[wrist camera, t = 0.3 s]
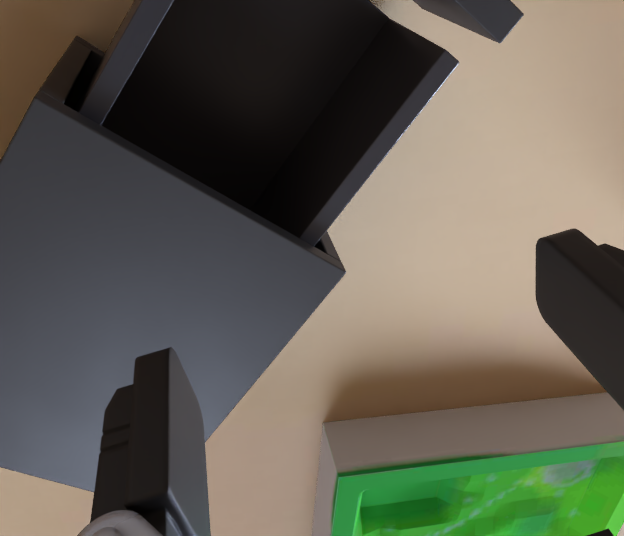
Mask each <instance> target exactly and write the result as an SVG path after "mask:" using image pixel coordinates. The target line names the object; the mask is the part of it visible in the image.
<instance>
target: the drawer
mask: <svg viewBox="0 0 624 536" xmlns="http://www.w3.org/2000/svg"><path fill="white" fill-rule="evenodd" d="M413 1H414V2H415V3H417V4H418V5H419V6H420V7H421V8H422V9H424V10H426V11H428V12H431V13H433V14H435V15H437V16H440V17H442V18H444V19H446V20H449V21H451V22H453V23H455V24H458V25H460V26H462V27H464V28H467V29H469V30H471V31H473V32H475V33H478V34H480V35H482V36H484V37H487V38H489V39H491V40H493V41H496V42H498V43H501V42H502V41H503V40H504V39H505V37H506V36H507V35H508V34H509V32H510V31H511V30H512V29H513V27H514V26H515V25H516V24H517V22H518V21H519V20H520V19H521V18H522V16H523V15H524V14H523V13H522V12H521V11H520V10H519V9H518V8H517V7H516V6H515V5H514V4H513V3H512V2H511V1H510V0H413ZM458 64H459V61H458V60H457V59H456V58H454V57H453V56H452V55H451V54H450V53H449V52H448V51H447V50H445V49H443V48H442V47H440V46H438V45H436V44H434V43H433V42H431V41H429V40H427V39H425V38H424V37H422V36H420V35H418V34H416V33H415V32H413V31H411V30H409V29H407V28H406V27H404V26H402V25H400V24H399V23H397V22H395V21H393V20H391V19H390V18H388V17H387V16H386V15H385V14H384V13H383V12H381V11H380V10H379V9H378V8H377V7H376V6H374V5H373V4H372V3H371V2H370V1H369V0H134V2H133V4H132V6H131V8H130V9H129V11H128V13H127V15H126V17H125V18H124V20H123V22H122V24H121V25H120V27H119V29H118V31H117V33H116V34H115V36H114V38H113V40H112V42H111V43H110V45H109V47H108V49H107V51H106V52H105V54H104V56H103V58H102V59H101V61H100V63H99V65H98V67H97V68H96V70H95V72H94V74H93V76H92V77H91V79H90V81H89V83H88V85H87V86H86V88H85V90H84V92H83V93H82V95H81V97H80V99H79V101H78V102H77V104H76V106H75V108H74V110H75V111H76V112H78V113H80V114H82V115H83V116H85V117H87V118H89V119H91V120H92V121H94V122H96V123H98V124H99V125H101V126H103V127H105V128H106V129H108V130H110V131H112V132H113V133H115V134H117V135H119V136H120V137H122V138H124V139H126V140H127V141H129V142H131V143H133V144H134V145H136V146H138V147H140V148H141V149H143V150H145V151H147V152H149V153H150V154H152V155H154V156H156V157H157V158H159V159H161V160H163V161H164V162H166V163H168V164H170V165H171V166H173V167H175V168H177V169H178V170H180V171H182V172H184V173H185V174H187V175H189V176H191V177H192V178H194V179H196V180H198V181H199V182H201V183H203V184H205V185H206V186H208V187H210V188H212V189H214V190H215V191H217V192H219V193H221V194H222V195H224V196H226V197H228V198H229V199H231V200H233V201H235V202H236V203H238V204H240V205H242V206H243V207H245V208H247V209H249V210H250V211H252V212H254V213H256V214H257V215H259V216H261V217H263V218H264V219H266V220H268V221H270V222H272V223H273V224H275V225H277V226H279V227H280V228H282V229H284V230H286V231H287V232H289V233H291V234H293V235H294V236H296V237H298V238H300V239H301V240H303V241H305V242H307V243H308V244H310V245H312V246H315V245H316V243H317V242H318V241H319V240H320V238H321V237H322V236H323V234H324V233H325V232H326V231H327V229H328V228H329V227H330V226H331V224H332V223H333V222H334V221H335V219H336V218H337V217H338V216H339V214H340V213H341V212H342V210H343V209H344V208H345V207H346V205H347V204H348V203H349V202H350V200H351V199H352V198H353V197H354V195H355V194H356V193H357V191H358V190H359V189H360V188H361V186H362V185H363V184H364V183H365V181H366V180H367V179H368V178H369V176H370V175H371V174H372V173H373V171H374V170H375V169H376V167H377V166H378V165H379V164H380V162H381V161H382V160H383V159H384V157H385V156H386V155H387V154H388V152H389V151H390V150H391V149H392V147H393V146H394V145H395V143H396V142H397V141H398V140H399V138H400V137H401V136H402V135H403V133H404V132H405V131H406V130H407V128H408V127H409V126H410V125H411V123H412V122H413V121H414V119H415V118H416V117H417V116H418V114H419V113H420V112H421V111H422V109H423V108H424V107H425V106H426V104H427V103H428V102H429V101H430V99H431V98H432V97H433V95H434V94H435V93H436V92H437V90H438V89H439V88H440V87H441V85H442V84H443V83H444V82H445V80H446V79H447V78H448V77H449V75H450V74H451V73H452V71H453V70H454V69H455V68H456V66H457V65H458Z"/></svg>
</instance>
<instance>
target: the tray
mask: <svg viewBox="0 0 624 536" xmlns="http://www.w3.org/2000/svg"><path fill="white" fill-rule="evenodd" d="M623 523H624V410H623V409H622V408H621V407H620V406H619V405H618V404H617V402H616V401H615V400H614V399H613V398H612V397H611V396H610V395H609V393H608V392H606V393H597V394H587V395H578V396H569V397H559V398H550V399H540V400H531V401H522V402H512V403H503V404H493V405H484V406H475V407H465V408H456V409H446V410H437V411H428V412H418V413H409V414H399V415H390V416H381V417H371V418H362V419H352V420H343V421H334V422H324V423H323V427H322V437H321V447H320V456H319V466H318V476H317V486H316V496H315V506H314V516H313V525H312V535H311V536H587V535H590V534H593V533H596V532H599V531H602V530H605V529H608V528H609V530H610V531H611V533H612V534H613V535H614V536H617V534H618V532H619V530H620V528H621V526H622V525H623Z"/></svg>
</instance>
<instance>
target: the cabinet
mask: <svg viewBox="0 0 624 536" xmlns="http://www.w3.org/2000/svg"><path fill="white" fill-rule="evenodd" d="M104 54H105V53H104V52H102V51H100V50H99V49H97V48H96V47H94V46H93V45H91V44H89V43H88V42H86V41H85V40H83V39H81V38H80V37H78V36H76V37H75V38H74V40H73V41H72V43H71V44H70V46H69V47H68V49H67V50H66V52H65V53H64V54H63V56H62V57H61V59H60V60H59V62H58V63H57V65H56V66H55V68H54V69H53V71H52V72H51V73H50V75H49V76H48V78H47V79H46V81H45V82H44V84H43V85H42V87H41V88H40V90H39V91H38V92H37V94H36V95H35V97H34V98H33V100H32V102H31V104H30V106H29V108H28V110H27V112H26V114H25V115H24V117H23V119H22V121H21V123H20V125H19V127H18V129H17V131H16V132H15V134H14V136H13V138H12V140H11V142H10V144H9V146H8V148H7V150H6V151H5V153H4V155H3V157H2V159H1V161H0V467H2V468H5V469H9V470H13V471H17V472H20V473H24V474H28V475H32V476H35V477H39V478H43V479H47V480H50V481H54V482H58V483H62V484H65V485H69V486H73V487H77V488H80V489H84V490H88V491H91V492H94V491H95V483H96V475H97V467H98V460H99V453H101V451H100V444H101V436H102V435H103V432H102V429H103V421H104V413H105V409H106V407H107V406H108V404H109V402H110V400H111V399H112V397H113V395H114V393H115V392H116V390H117V389H118V388H121V387H125V386H128V385H131V384H133V379H134V366H135V359H136V358H137V357H139V356H143V355H146V354H149V353H153V352H156V351H159V350H163V349H166V348H169V347H172V348H173V349H174V350H175V352H176V354H177V356H178V358H179V360H180V362H181V364H182V367H183V369H184V371H185V373H186V375H187V377H188V380H189V382H190V384H191V386H192V388H193V390H194V393H195V395H196V397H197V400H198V402H199V405H200V409H201V413H202V418H203V424H204V438H205V442H206V441H207V439H208V438H209V437H210V436H211V435H212V433H213V432H214V431H215V430H216V429H217V427H218V426H219V425H220V424H221V423H222V421H223V420H224V419H225V418H226V417H227V415H228V414H229V413H230V412H231V411H232V409H233V408H234V407H235V406H236V405H237V403H238V402H239V401H240V400H241V398H242V397H243V396H244V395H245V394H246V392H247V391H248V390H249V389H250V388H251V386H252V385H253V384H254V383H255V382H256V380H257V379H258V378H259V377H260V376H261V374H262V373H263V372H264V371H265V370H266V368H267V367H268V366H269V365H270V364H271V362H272V361H273V360H274V359H275V358H276V356H277V355H278V354H279V353H280V352H281V350H282V349H283V348H284V347H285V346H286V344H287V343H288V342H289V341H290V340H291V338H292V337H293V336H294V335H295V334H296V332H297V331H298V330H299V329H300V327H301V326H302V325H303V324H304V323H305V321H306V320H307V319H308V318H309V317H310V315H311V314H312V313H313V312H314V311H315V309H316V308H317V307H318V306H319V305H320V303H321V302H322V301H323V300H324V299H325V297H326V296H327V295H328V294H329V293H330V291H331V290H332V289H333V288H334V287H335V285H336V284H337V283H338V282H339V281H340V279H341V278H342V277H343V276H344V275H345V273H346V271H345V268H344V266H343V264H342V262H341V260H340V258H339V256H338V254H337V252H336V250H335V247H334V245H333V243H332V241H331V239H330V237H329V235H328V232H327V231H326V232H325V233H324V234H323V236H322V237H321V238H320V240H319V241H318V242H317V243H316V245H315V246H312V245H310V244H308V243H307V242H305V241H303V240H301V239H300V238H298V237H296V236H294V235H293V234H291V233H289V232H287V231H286V230H284V229H282V228H280V227H279V226H277V225H275V224H273V223H272V222H270V221H268V220H266V219H264V218H263V217H261V216H259V215H257V214H256V213H254V212H252V211H250V210H249V209H247V208H245V207H243V206H242V205H240V204H238V203H236V202H235V201H233V200H231V199H229V198H228V197H226V196H224V195H222V194H221V193H219V192H217V191H215V190H214V189H212V188H210V187H208V186H206V185H205V184H203V183H201V182H199V181H198V180H196V179H194V178H192V177H191V176H189V175H187V174H185V173H184V172H182V171H180V170H178V169H177V168H175V167H173V166H171V165H170V164H168V163H166V162H164V161H163V160H161V159H159V158H157V157H156V156H154V155H152V154H150V153H149V152H147V151H145V150H143V149H141V148H140V147H138V146H136V145H134V144H133V143H131V142H129V141H127V140H126V139H124V138H122V137H120V136H119V135H117V134H115V133H113V132H112V131H110V130H108V129H106V128H105V127H103V126H101V125H99V124H98V123H96V122H94V121H92V120H91V119H89V118H87V117H85V116H83V115H82V114H80V113H78V112H76V111H75V110H74V108H75V106H76V104H77V102H78V101H79V99H80V97H81V95H82V93H83V92H84V90H85V88H86V86H87V85H88V83H89V81H90V79H91V77H92V76H93V74H94V72H95V70H96V68H97V67H98V65H99V63H100V61H101V59H102V58H103V56H104Z"/></svg>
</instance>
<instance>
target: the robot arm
mask: <svg viewBox="0 0 624 536" xmlns="http://www.w3.org/2000/svg"><path fill="white" fill-rule="evenodd" d="M536 301H537V305H538V308H539V311H540V313H541V315H542V317H543V319H544V320H545V322H546V323H547V324H548V325H549V326H550V327H551V329H552V330H553V331H554V332H555V333H556V334H557V335H558V337H559V338H560V339H561V340H562V341H563V342H564V343H565V345H566V346H567V347H568V348H569V349H570V350H571V351H572V352H573V354H574V355H575V356H576V357H577V358H578V359H579V360H580V362H581V363H582V364H583V365H584V366H585V367H586V368H587V370H588V371H589V372H590V373H591V374H592V375H593V376H594V377H595V379H596V380H597V381H598V382H599V383H600V384H601V385H602V387H603V388H604V389H605V390H606V391H607V392H608V393H609V395H610V396H611V397H612V398H613V399H614V400H615V401H616V402H617V404H618V405H619V406H620V407H621V408H622V409H623V410H624V251H623V250H621V249H618V248H616V247H613V246H610V245H608V244H602V245H599V246H597V245H596V244H595V243H594V242H593V241H591V240H590V239H589V238H588V237H586V236H585V235H584V234H583V233H582V232H580V231H579V230H577V229H570V230H566V231H563V232H560V233H556V234H553V235H550V236H546V237H543V238H540V239H539V240H538V241H537V244H536ZM102 432H103V435H102V436H101V444H100V451H101V453H99V460H98V467H97V475H96V483H95V491H94V499H93V506H92V514H91V520H90V524H88V525H87V526H86V527H85V528H84V529H83V530H82V531H81V532H80V533H79V534H78V535H77V536H211V535H210V519H209V503H208V487H207V470H206V454H205V438H204V424H203V418H202V413H201V409H200V405H199V402H198V400H197V397H196V395H195V393H194V390H193V388H192V386H191V384H190V382H189V380H188V377H187V375H186V373H185V371H184V369H183V367H182V364H181V362H180V360H179V358H178V356H177V354H176V352H175V350H174V349H173V348H172V347H169V348H166V349H163V350H159V351H156V352H153V353H149V354H146V355H143V356H139V357H137V358H136V359H135V366H134V379H133V384H131V385H128V386H125V387H121V388H118V389H117V390H116V392H115V393H114V395H113V397H112V399H111V400H110V402H109V404H108V406H107V407H106V409H105V413H104V421H103V429H102ZM587 536H614V535H613V534H612V533H611V531H610V530H609V528H608V529H605V530H602V531H599V532H596V533H593V534H590V535H587Z"/></svg>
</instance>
